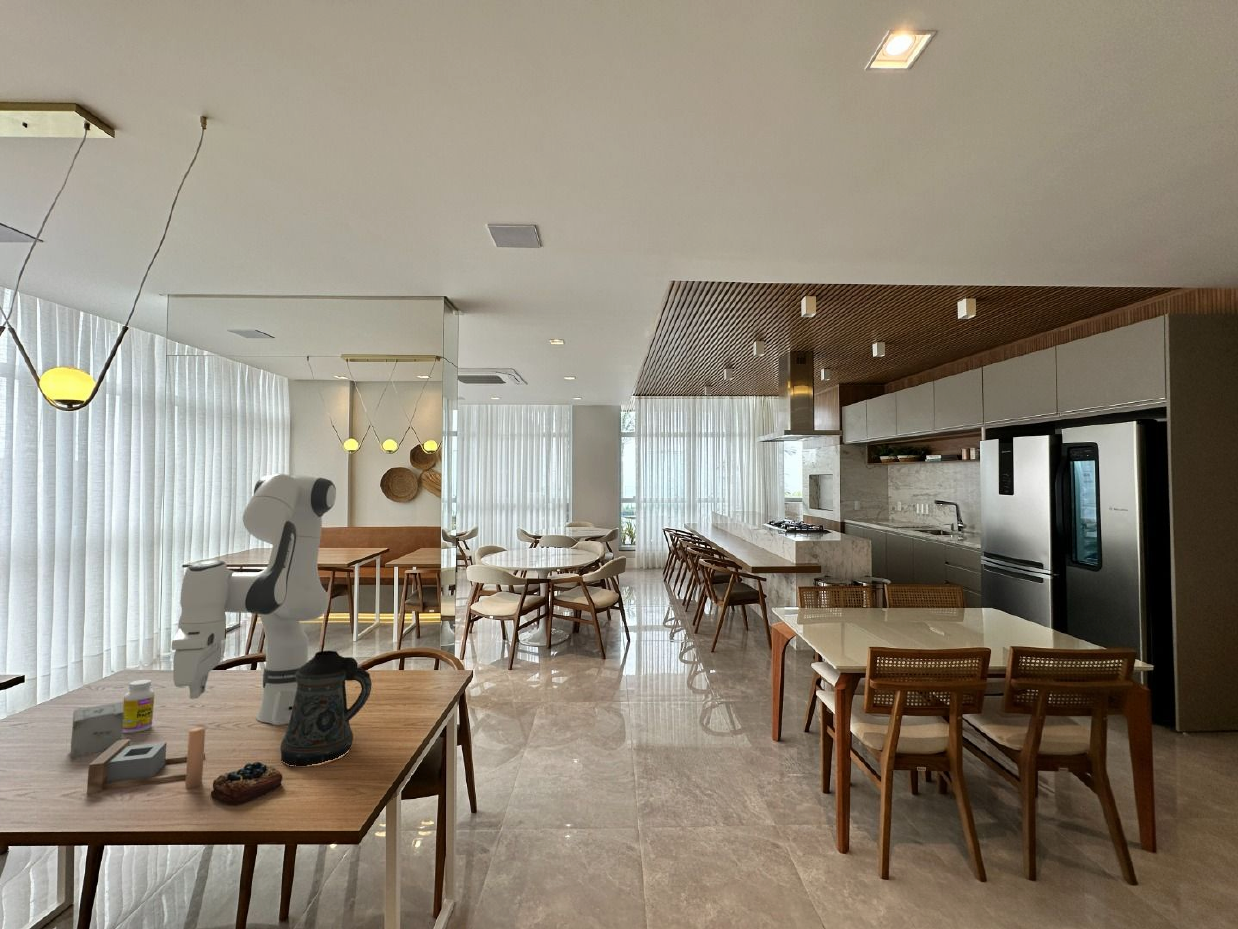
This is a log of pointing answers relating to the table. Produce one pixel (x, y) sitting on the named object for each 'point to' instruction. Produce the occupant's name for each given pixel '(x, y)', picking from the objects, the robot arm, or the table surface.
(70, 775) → the table surface
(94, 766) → the rail frame
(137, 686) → the supplement bottle
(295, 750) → the beer stein
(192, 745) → the dowel
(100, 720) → the incense holder
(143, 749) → the block
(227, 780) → the pastry
